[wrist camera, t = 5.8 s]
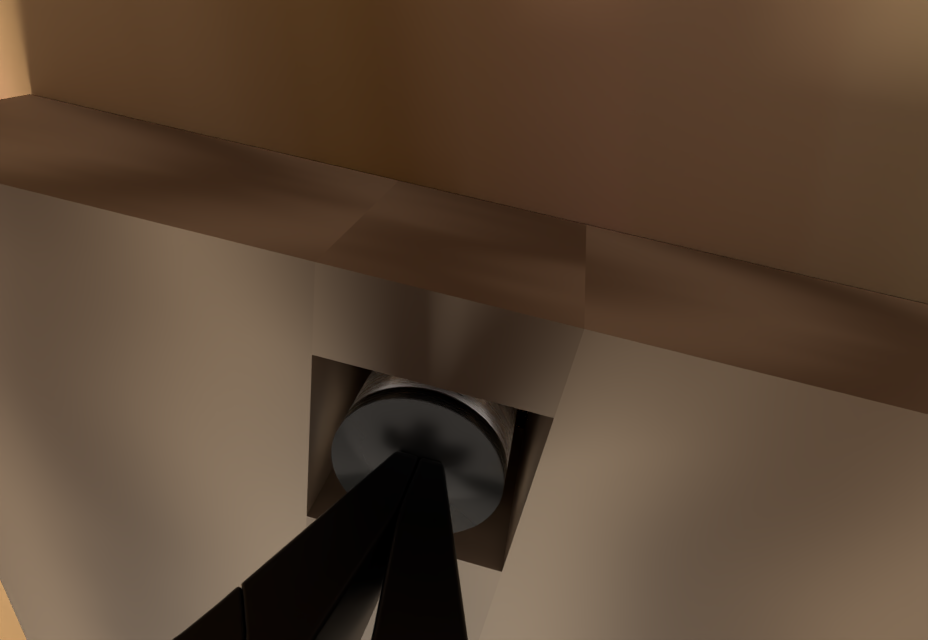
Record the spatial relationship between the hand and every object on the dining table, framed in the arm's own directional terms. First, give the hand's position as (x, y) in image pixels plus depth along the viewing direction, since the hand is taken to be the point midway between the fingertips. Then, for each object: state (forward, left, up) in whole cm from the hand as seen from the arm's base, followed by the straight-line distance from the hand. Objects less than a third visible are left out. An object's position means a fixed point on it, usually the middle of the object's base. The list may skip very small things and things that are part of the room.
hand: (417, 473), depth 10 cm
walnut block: (0, +5, -4) cm, 6 cm away
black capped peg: (0, 0, -4) cm, 4 cm away
